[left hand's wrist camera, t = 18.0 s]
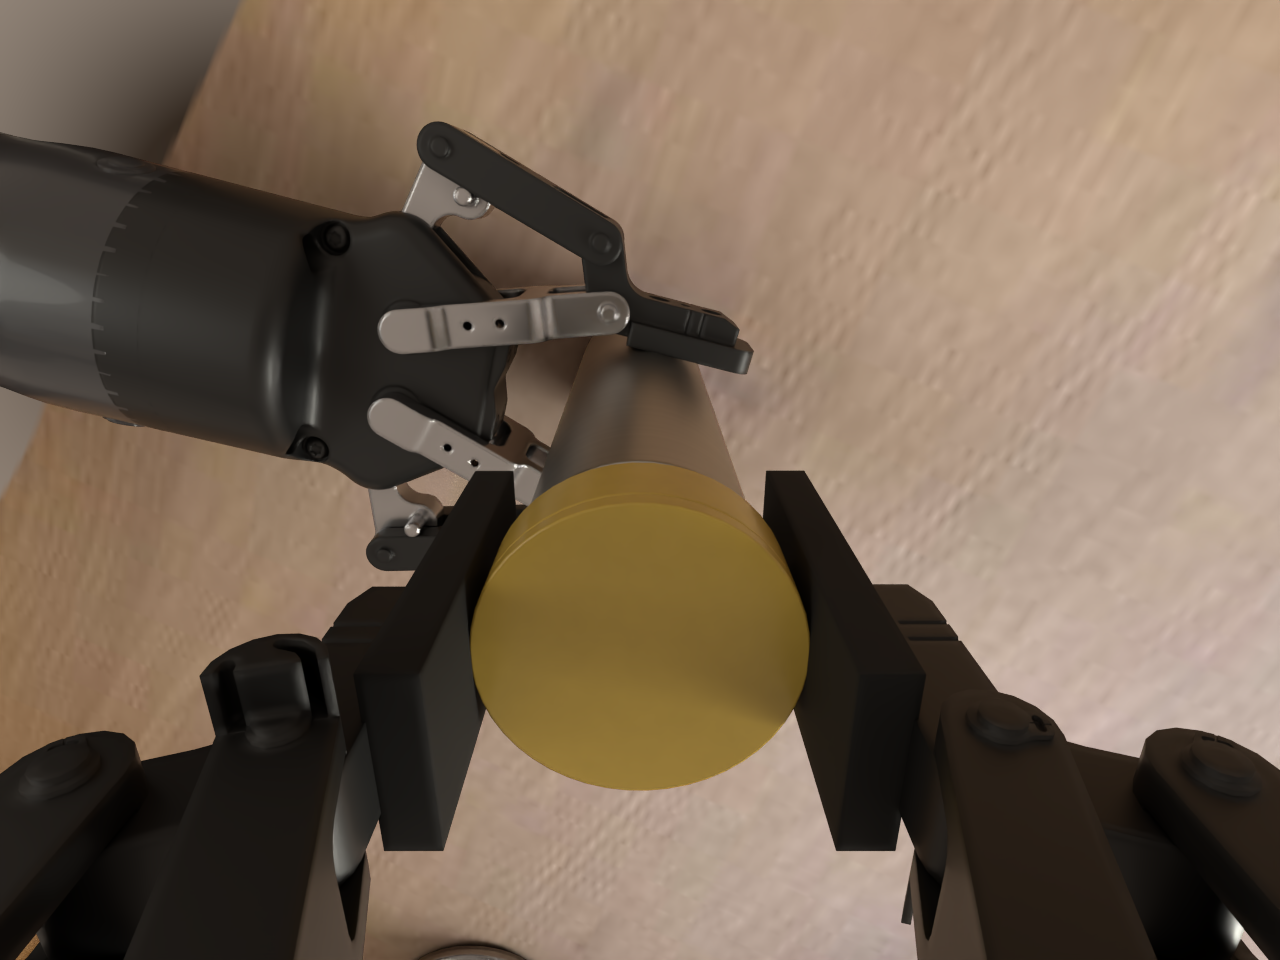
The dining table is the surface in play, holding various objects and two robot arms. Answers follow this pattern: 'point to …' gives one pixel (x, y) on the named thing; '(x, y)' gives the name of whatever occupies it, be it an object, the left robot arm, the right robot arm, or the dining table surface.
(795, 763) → the dining table surface
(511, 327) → the right robot arm
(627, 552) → the lid
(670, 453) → the jar
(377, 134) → the dining table surface
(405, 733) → the left robot arm
